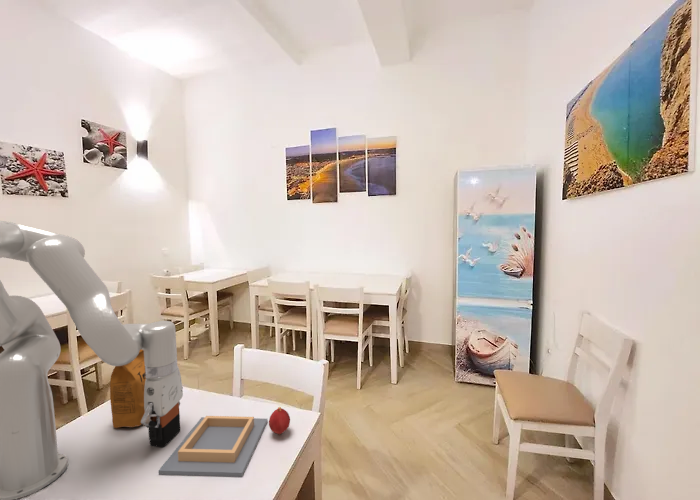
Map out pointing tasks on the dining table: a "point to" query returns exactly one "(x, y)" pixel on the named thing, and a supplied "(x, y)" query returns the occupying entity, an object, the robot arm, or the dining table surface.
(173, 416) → the battery
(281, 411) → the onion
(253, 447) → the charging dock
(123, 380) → the coffee package
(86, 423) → the dining table surface
